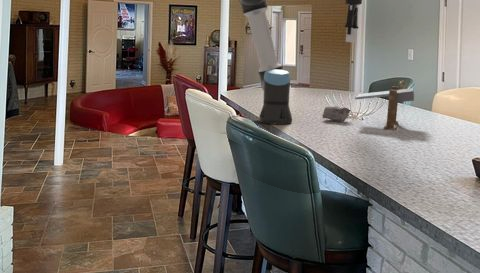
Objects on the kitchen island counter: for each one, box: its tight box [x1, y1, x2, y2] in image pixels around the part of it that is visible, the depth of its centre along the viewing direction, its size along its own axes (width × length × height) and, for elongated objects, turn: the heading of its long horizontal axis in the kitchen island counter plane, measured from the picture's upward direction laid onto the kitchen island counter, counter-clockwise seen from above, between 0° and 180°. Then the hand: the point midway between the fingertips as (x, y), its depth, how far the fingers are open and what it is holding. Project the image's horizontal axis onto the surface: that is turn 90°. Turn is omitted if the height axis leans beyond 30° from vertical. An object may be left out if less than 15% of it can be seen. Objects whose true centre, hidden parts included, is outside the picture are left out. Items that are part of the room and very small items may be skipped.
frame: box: [383, 85, 400, 131], centre depth 209 cm, size 5×22×17 cm, turn 159°
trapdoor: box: [354, 87, 415, 103], centre depth 209 cm, size 24×16×4 cm, turn 68°
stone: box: [322, 105, 351, 123], centre depth 220 cm, size 8×12×7 cm, turn 55°
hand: (350, 42), depth 221 cm, fingers open, 13 cm apart
